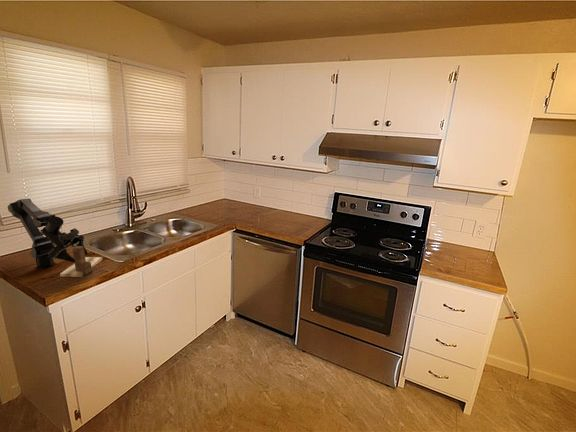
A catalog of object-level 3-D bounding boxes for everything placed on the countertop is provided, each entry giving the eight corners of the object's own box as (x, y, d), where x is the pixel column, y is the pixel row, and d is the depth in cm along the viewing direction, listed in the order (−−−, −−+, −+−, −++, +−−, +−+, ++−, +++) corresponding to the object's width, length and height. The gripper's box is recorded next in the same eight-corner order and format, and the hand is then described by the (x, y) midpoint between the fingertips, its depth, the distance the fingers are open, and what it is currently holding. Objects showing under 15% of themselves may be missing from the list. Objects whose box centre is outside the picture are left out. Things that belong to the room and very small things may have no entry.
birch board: (60, 276, 153) (59, 273, 153) (83, 259, 172) (83, 256, 172) (81, 276, 154) (81, 273, 153) (102, 259, 173) (102, 257, 173)
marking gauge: (74, 274, 155) (69, 249, 151) (79, 270, 160) (75, 245, 156) (86, 274, 155) (82, 249, 151) (91, 270, 160) (88, 245, 156)
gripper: (50, 231, 142) (77, 255, 144) (78, 219, 160) (102, 241, 162) (36, 247, 144) (63, 270, 147) (65, 233, 162) (89, 254, 165)
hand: (81, 257), depth 155 cm, fingers open, 9 cm apart
